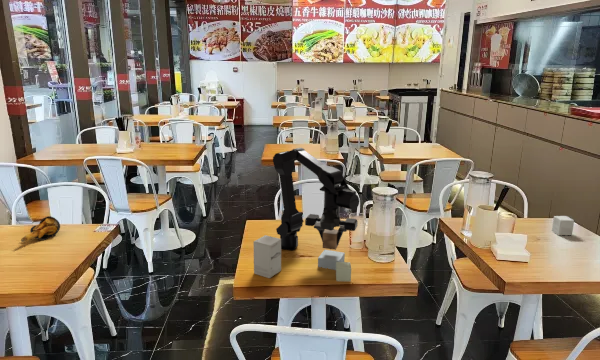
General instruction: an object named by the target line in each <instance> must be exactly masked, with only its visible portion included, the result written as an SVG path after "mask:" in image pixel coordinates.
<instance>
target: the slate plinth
mask: <svg viewBox="0 0 600 360" xmlns="http://www.w3.org/2000/svg"><path fill="white" fill-rule="evenodd" d="M345 256H346V255H345V252H344V251H343V252H342V251H336V250H332V249H324V250H323V251H322V252H321V253H320V255H319V256H318V257H317V268H321V267H322V269H327V268H328V269H329V270H333V271H336V262H345Z"/></svg>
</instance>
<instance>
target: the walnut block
mask: <svg viewBox="0 0 600 360" xmlns="http://www.w3.org/2000/svg"><path fill="white" fill-rule="evenodd" d="M337 237H338V229H336V228H334V229H333V230H327V229H325V231H324V232H323V242H322V249H325V250H332V251H336V250H337V248H338V247H339V244H338V245H337Z"/></svg>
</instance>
